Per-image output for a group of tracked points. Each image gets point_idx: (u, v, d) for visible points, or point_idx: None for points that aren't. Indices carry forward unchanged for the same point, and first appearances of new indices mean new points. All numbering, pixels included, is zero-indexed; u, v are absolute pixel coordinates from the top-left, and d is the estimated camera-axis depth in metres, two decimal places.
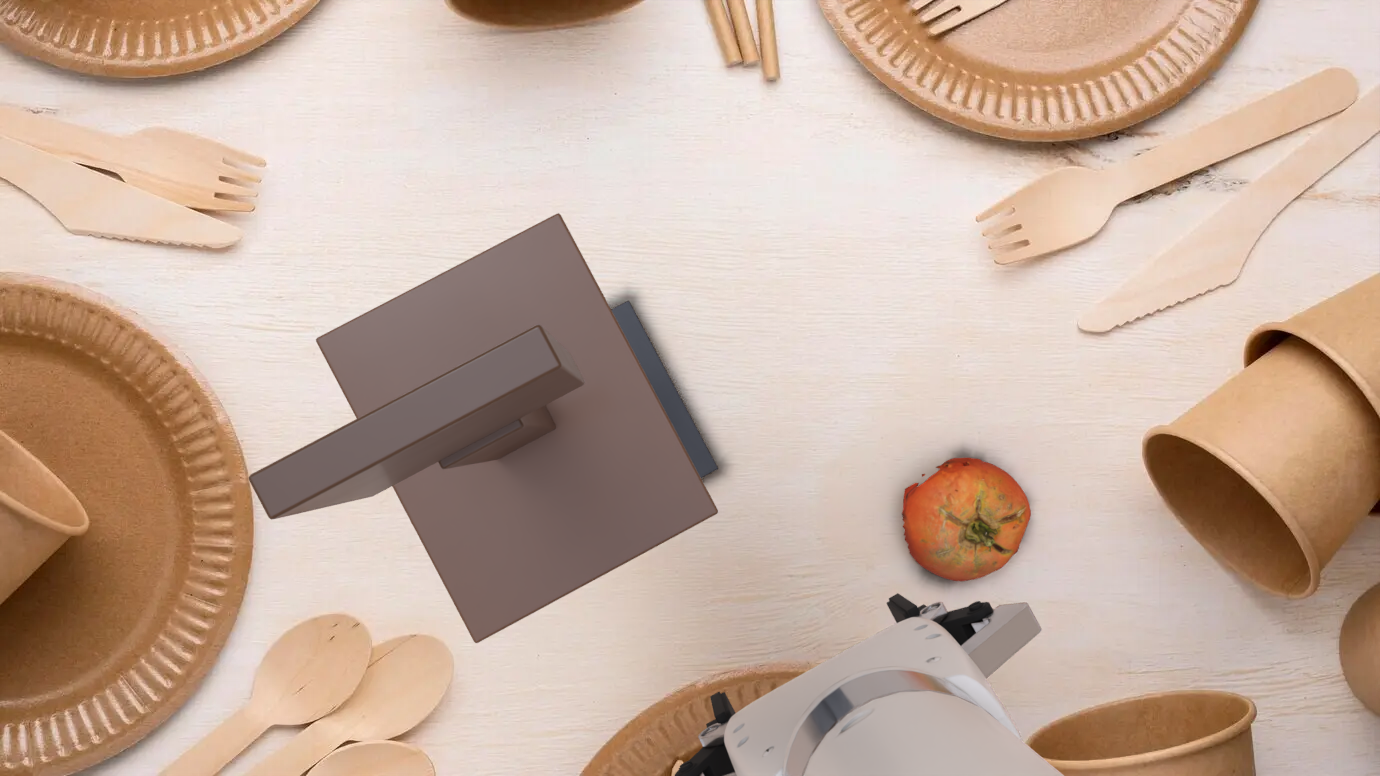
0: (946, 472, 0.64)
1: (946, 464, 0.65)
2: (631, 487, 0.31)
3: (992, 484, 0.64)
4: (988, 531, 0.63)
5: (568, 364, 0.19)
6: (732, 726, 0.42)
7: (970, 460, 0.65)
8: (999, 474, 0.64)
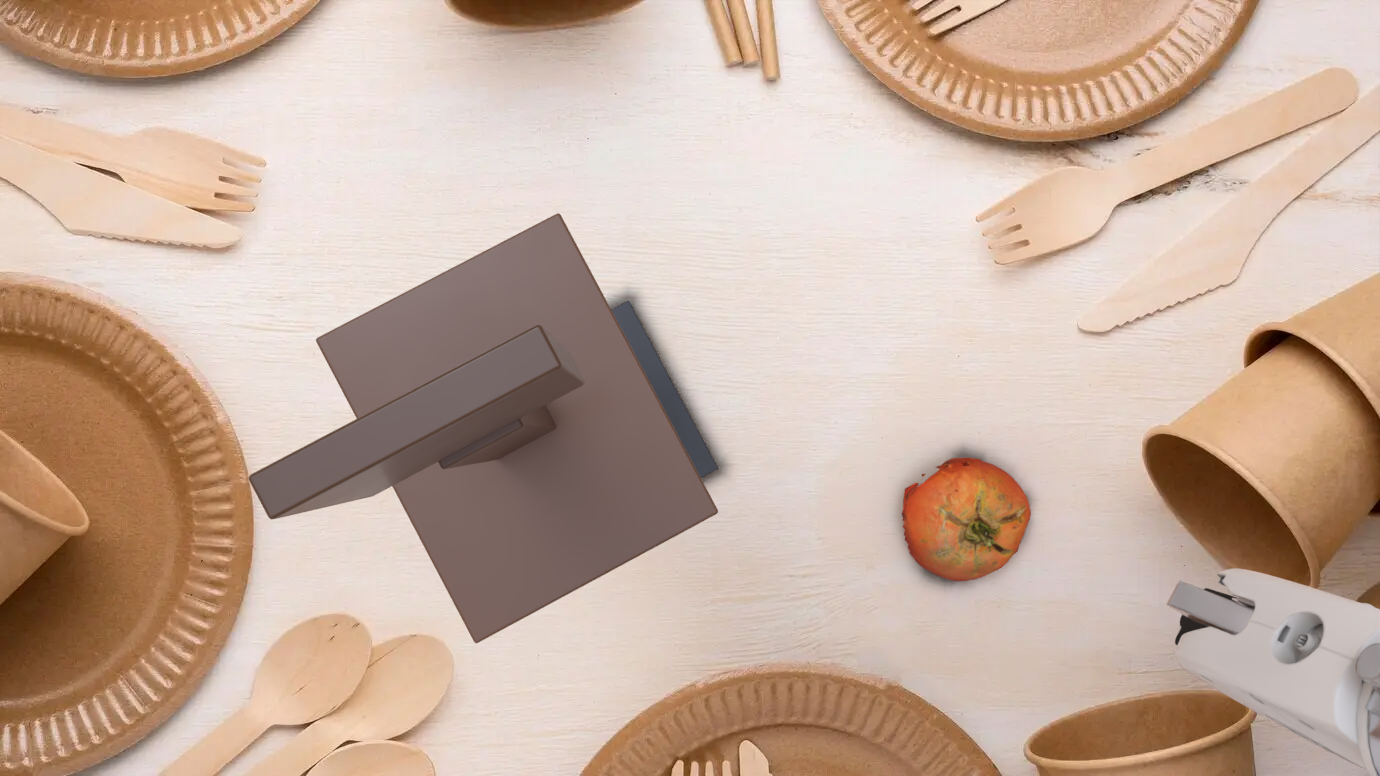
0: (946, 472, 0.64)
1: (946, 464, 0.65)
2: (631, 487, 0.31)
3: (992, 484, 0.64)
4: (988, 531, 0.63)
5: (568, 364, 0.19)
6: (1256, 572, 0.43)
7: (970, 460, 0.65)
8: (999, 474, 0.64)
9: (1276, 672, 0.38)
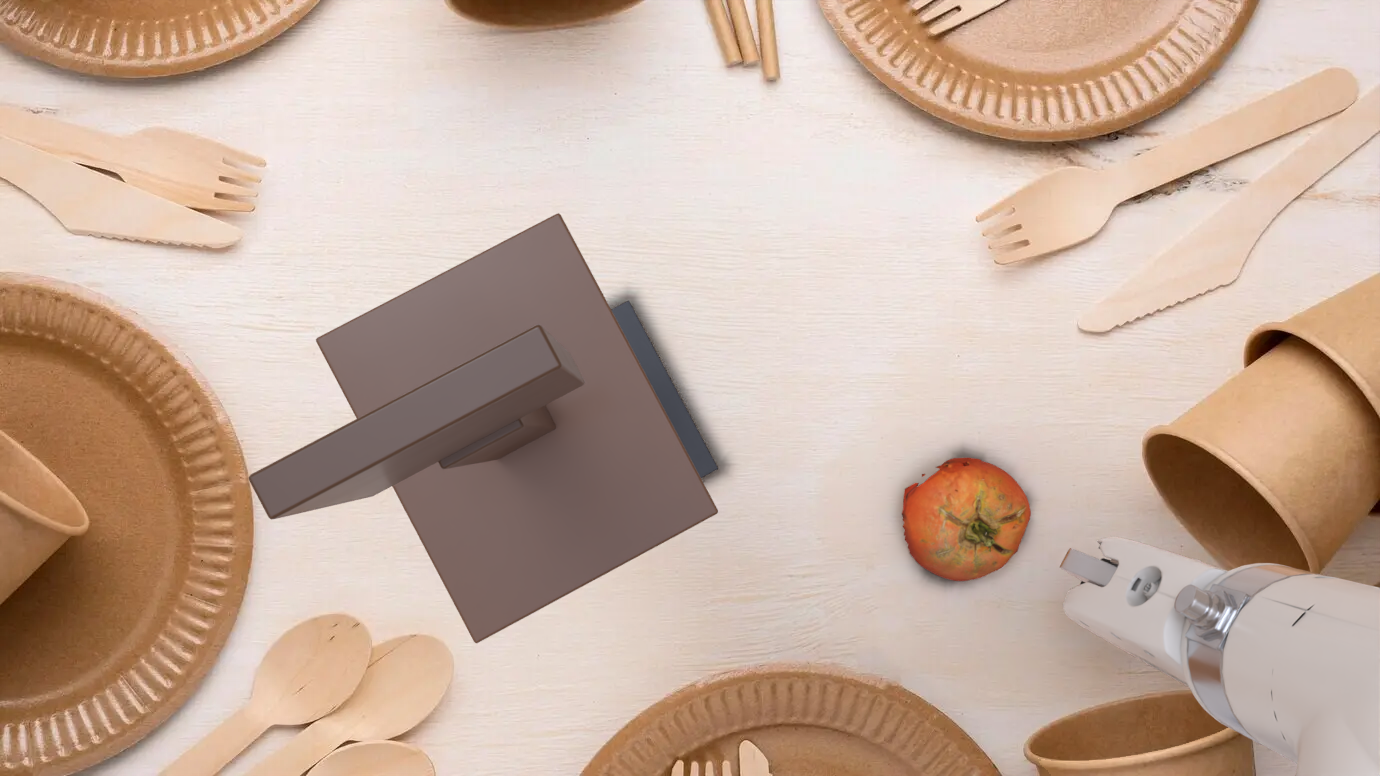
0: (946, 472, 0.64)
1: (946, 464, 0.65)
2: (631, 487, 0.31)
3: (992, 484, 0.64)
4: (988, 531, 0.63)
5: (568, 364, 0.19)
6: None
7: (970, 460, 0.65)
8: (999, 474, 0.64)
9: (1127, 613, 0.48)
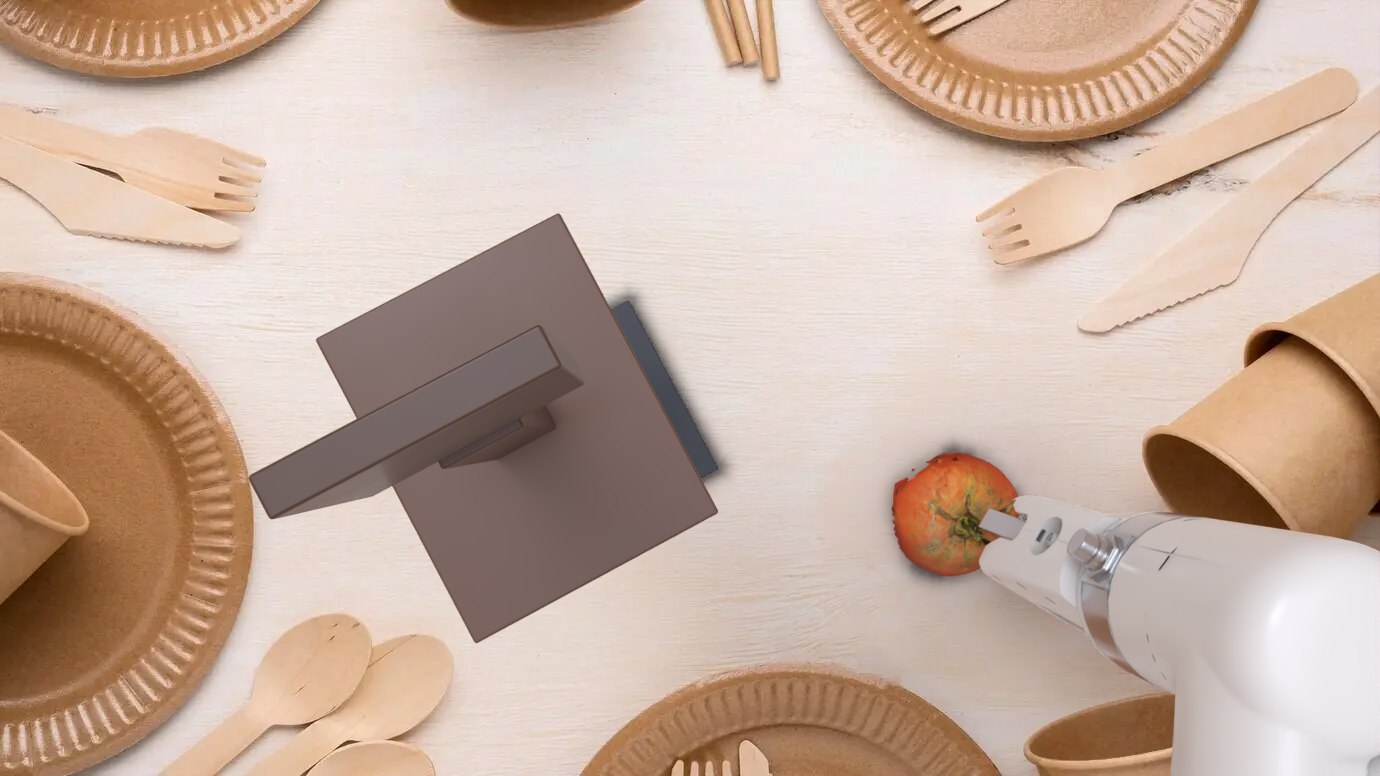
0: (936, 467, 0.64)
1: (936, 459, 0.65)
2: (631, 487, 0.31)
3: (982, 478, 0.63)
4: (977, 526, 0.63)
5: (568, 364, 0.19)
6: None
7: (960, 455, 0.65)
8: (989, 469, 0.64)
9: (1030, 562, 0.50)
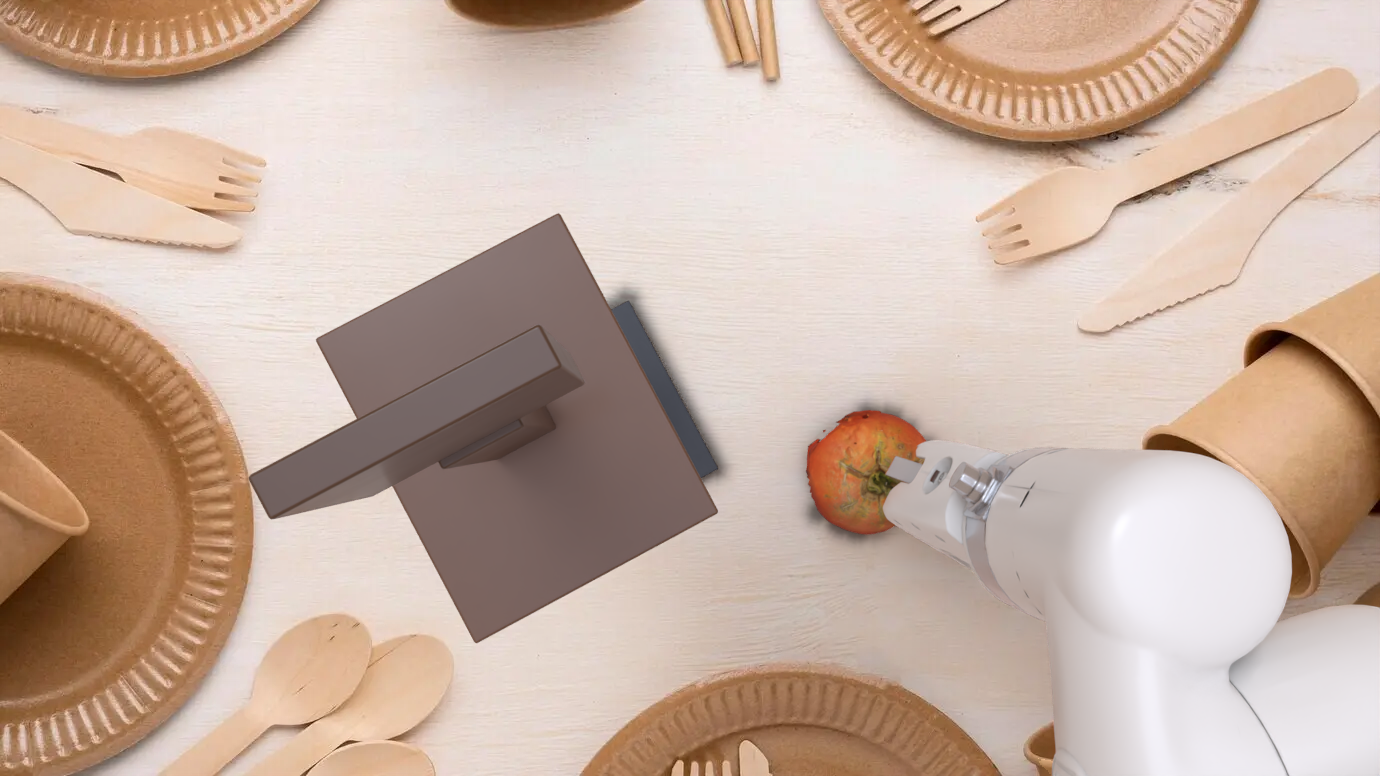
0: (845, 426, 0.64)
1: (846, 418, 0.65)
2: (631, 487, 0.31)
3: (891, 434, 0.63)
4: (889, 481, 0.63)
5: (568, 364, 0.19)
6: None
7: (869, 412, 0.65)
8: (899, 424, 0.64)
9: (922, 501, 0.50)
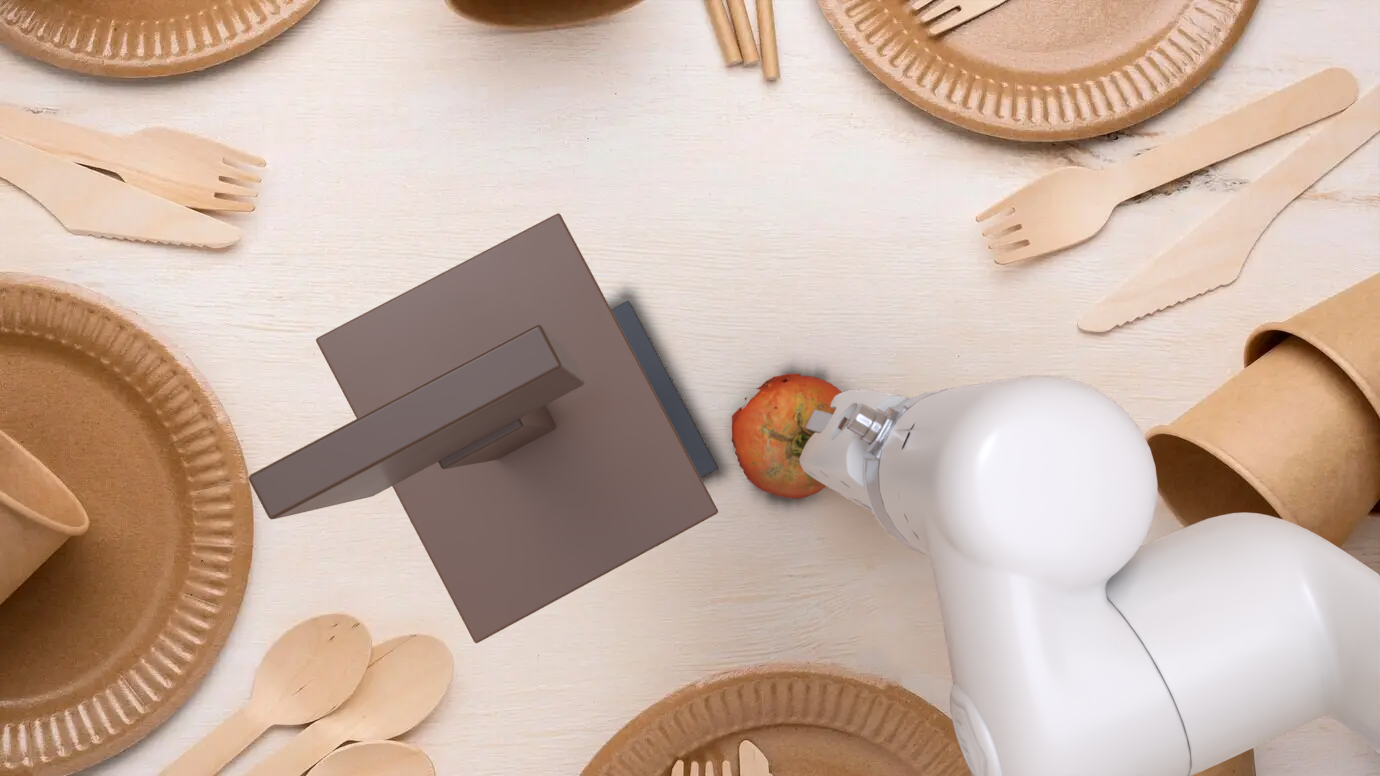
0: (765, 392, 0.64)
1: (766, 383, 0.65)
2: (631, 487, 0.31)
3: (811, 395, 0.63)
4: None
5: (568, 364, 0.19)
6: None
7: (789, 376, 0.65)
8: (819, 384, 0.64)
9: (828, 447, 0.50)
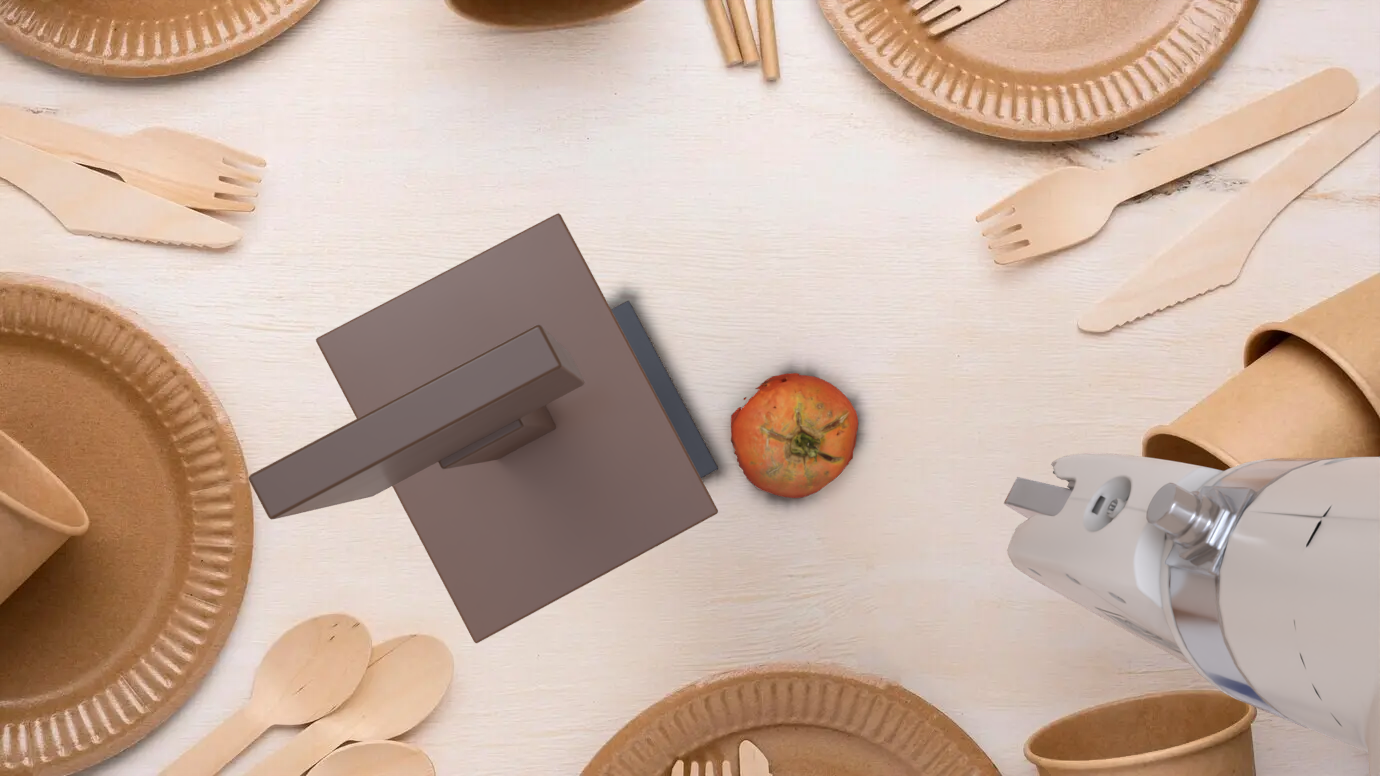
0: (764, 391, 0.64)
1: (765, 383, 0.65)
2: (631, 487, 0.31)
3: (810, 394, 0.63)
4: (812, 442, 0.63)
5: (568, 364, 0.19)
6: None
7: (788, 376, 0.65)
8: (817, 384, 0.64)
9: (1085, 542, 0.34)
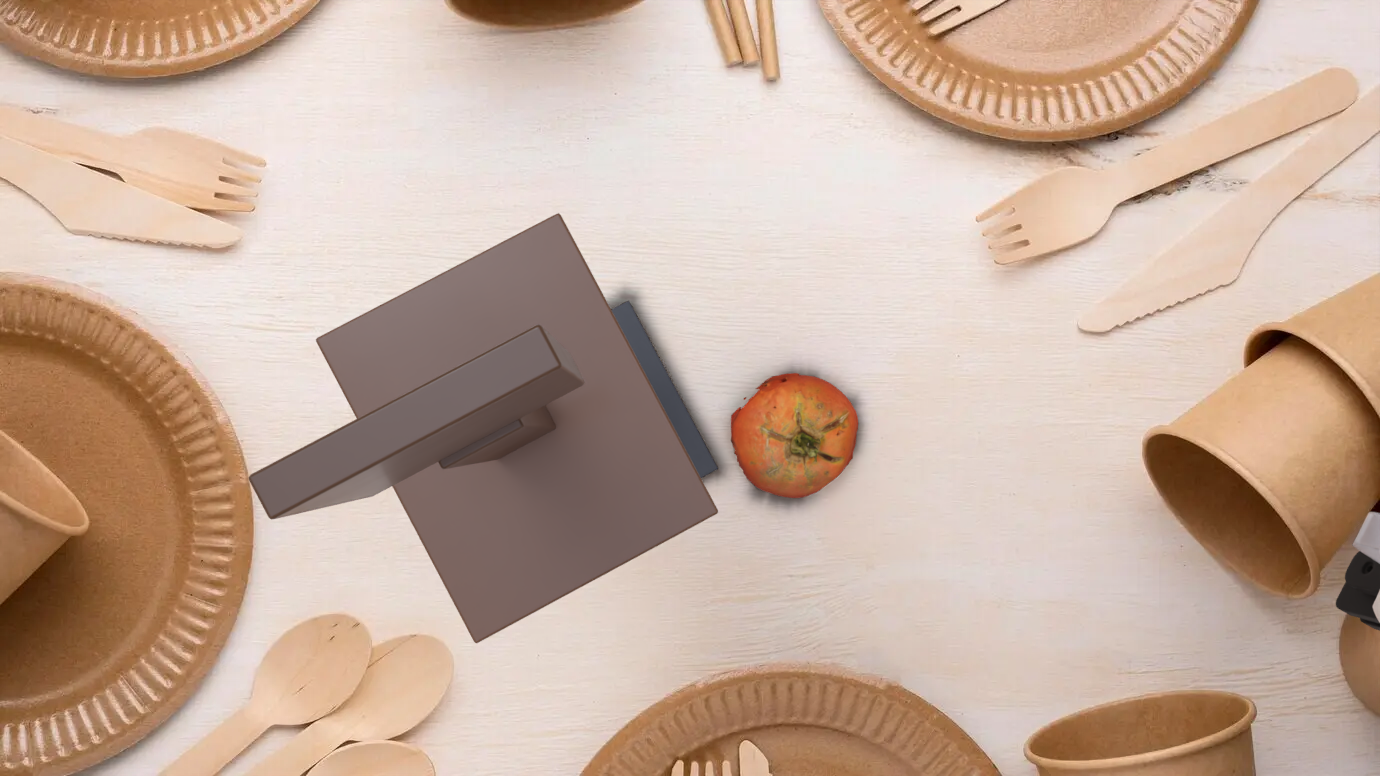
0: (764, 391, 0.64)
1: (765, 383, 0.65)
2: (631, 487, 0.31)
3: (810, 394, 0.63)
4: (812, 442, 0.63)
5: (568, 364, 0.19)
6: None
7: (788, 376, 0.65)
8: (817, 384, 0.64)
9: None
